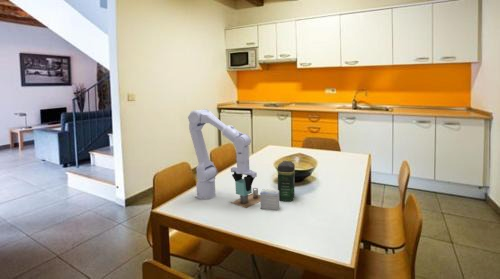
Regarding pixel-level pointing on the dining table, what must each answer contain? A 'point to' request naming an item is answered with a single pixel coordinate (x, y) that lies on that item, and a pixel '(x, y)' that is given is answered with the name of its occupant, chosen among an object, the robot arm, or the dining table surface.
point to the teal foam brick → (242, 188)
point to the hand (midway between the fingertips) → (243, 189)
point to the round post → (255, 193)
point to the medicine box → (269, 199)
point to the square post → (244, 199)
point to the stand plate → (250, 200)
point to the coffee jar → (286, 181)
